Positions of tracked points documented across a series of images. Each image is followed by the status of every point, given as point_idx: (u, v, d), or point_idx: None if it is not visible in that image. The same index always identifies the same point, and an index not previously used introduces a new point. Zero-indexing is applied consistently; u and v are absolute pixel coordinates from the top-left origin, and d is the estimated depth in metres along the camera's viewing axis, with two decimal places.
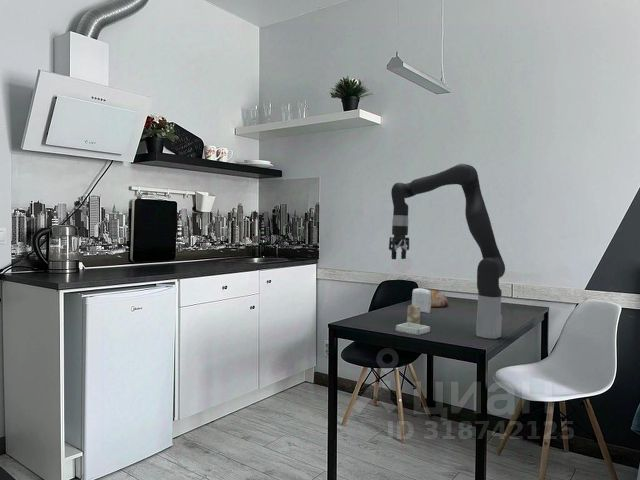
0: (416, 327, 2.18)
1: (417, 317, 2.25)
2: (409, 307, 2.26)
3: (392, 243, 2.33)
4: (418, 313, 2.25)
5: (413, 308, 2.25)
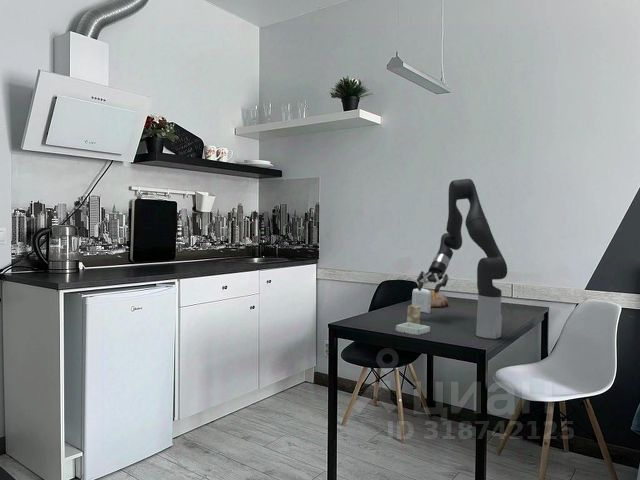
0: (416, 327, 2.18)
1: (417, 317, 2.25)
2: (409, 307, 2.26)
3: None
4: (418, 313, 2.25)
5: (413, 308, 2.25)
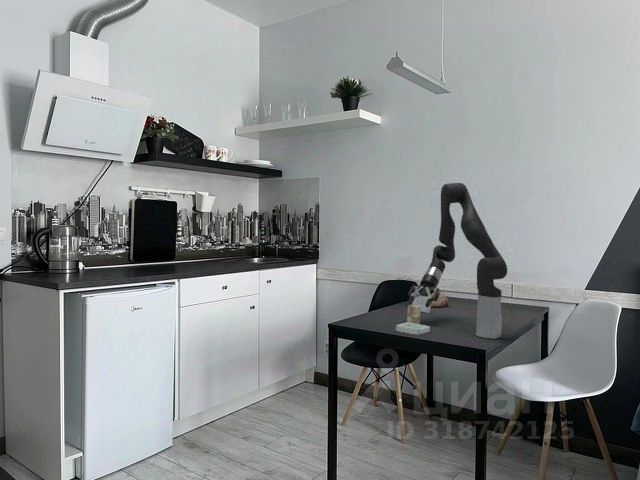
0: (416, 327, 2.18)
1: (417, 317, 2.25)
2: (409, 307, 2.26)
3: None
4: (418, 313, 2.25)
5: (413, 308, 2.25)
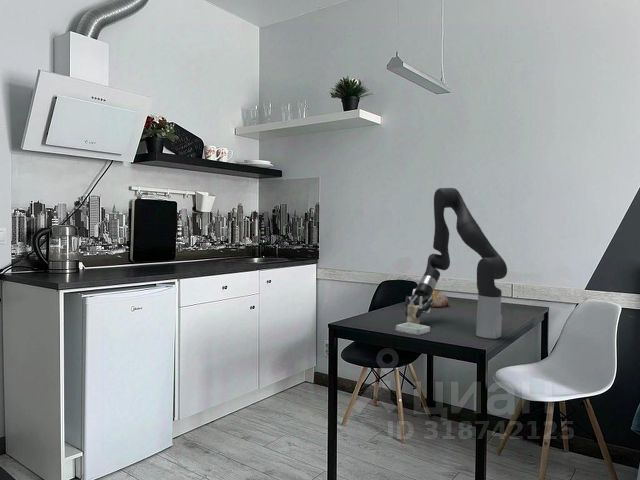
0: (416, 327, 2.18)
1: None
2: (409, 307, 2.26)
3: None
4: None
5: (413, 308, 2.25)
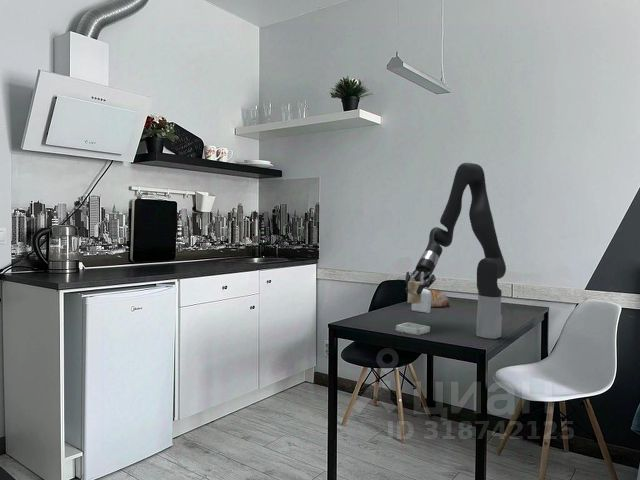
0: (416, 327, 2.18)
1: None
2: (410, 283, 2.14)
3: None
4: None
5: (414, 284, 2.12)
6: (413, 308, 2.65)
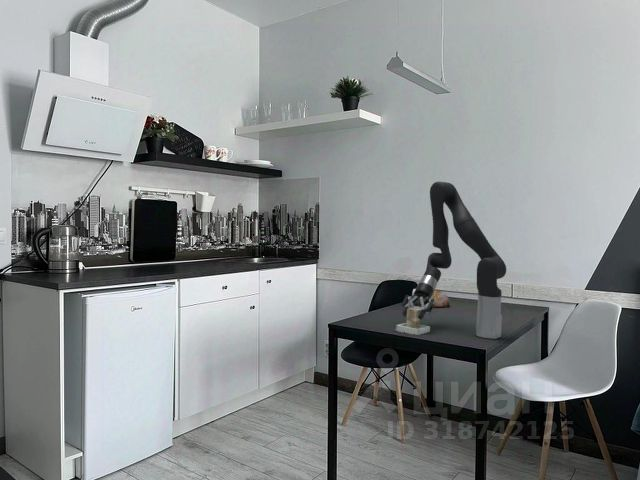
0: None
1: (416, 321, 2.12)
2: (408, 310, 2.14)
3: None
4: None
5: (413, 311, 2.13)
6: None
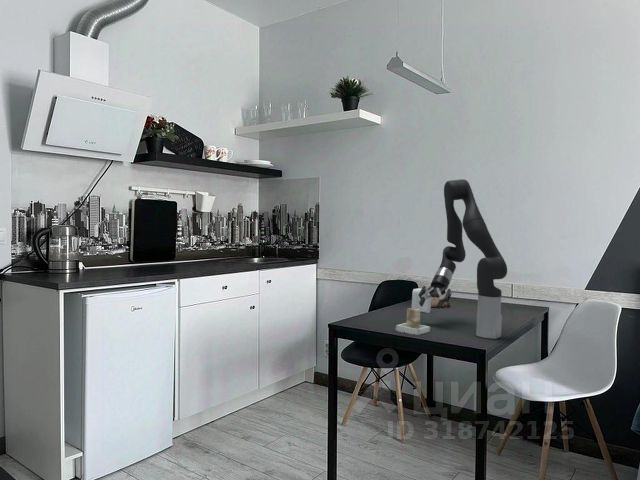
0: None
1: (416, 321, 2.12)
2: (408, 310, 2.14)
3: None
4: (418, 317, 2.13)
5: (413, 311, 2.13)
6: None
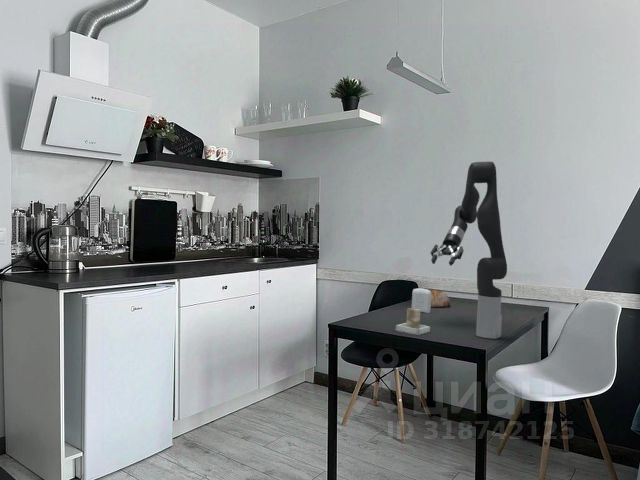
0: None
1: (416, 321, 2.12)
2: (408, 310, 2.14)
3: None
4: (418, 317, 2.13)
5: (413, 311, 2.13)
6: None
